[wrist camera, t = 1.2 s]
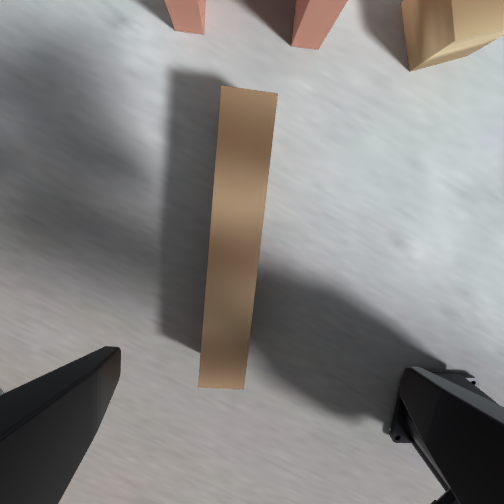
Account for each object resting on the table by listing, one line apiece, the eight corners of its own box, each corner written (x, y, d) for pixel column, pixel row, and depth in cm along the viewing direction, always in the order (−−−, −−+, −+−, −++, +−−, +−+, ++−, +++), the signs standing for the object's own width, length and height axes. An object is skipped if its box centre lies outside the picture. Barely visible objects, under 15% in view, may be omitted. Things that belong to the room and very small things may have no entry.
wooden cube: (465, 56, 19) (527, 20, 15) (408, 72, 19) (454, 40, 15) (460, -13, 18) (524, -70, 14) (400, 4, 18) (447, -49, 14)
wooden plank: (241, 355, 22) (243, 389, 18) (204, 352, 22) (198, 387, 18) (268, 114, 19) (277, 93, 15) (223, 108, 18) (221, 85, 15)
